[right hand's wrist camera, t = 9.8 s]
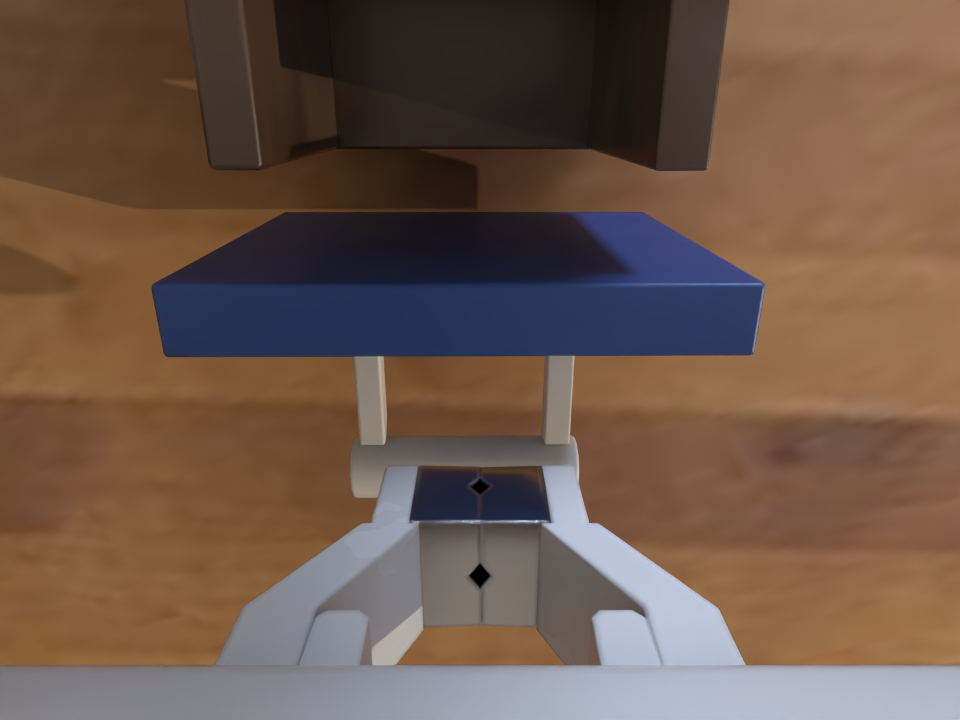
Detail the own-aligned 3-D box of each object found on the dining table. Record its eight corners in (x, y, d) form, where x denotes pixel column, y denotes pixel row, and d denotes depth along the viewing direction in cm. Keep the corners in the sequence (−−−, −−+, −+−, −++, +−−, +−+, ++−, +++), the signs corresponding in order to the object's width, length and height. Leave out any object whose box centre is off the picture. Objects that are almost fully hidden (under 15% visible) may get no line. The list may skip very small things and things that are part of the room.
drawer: (624, 430, 19) (712, 613, 12) (307, 432, 19) (212, 617, 12) (700, -371, 12) (980, -961, 6) (218, -376, 12) (-99, -989, 5)
